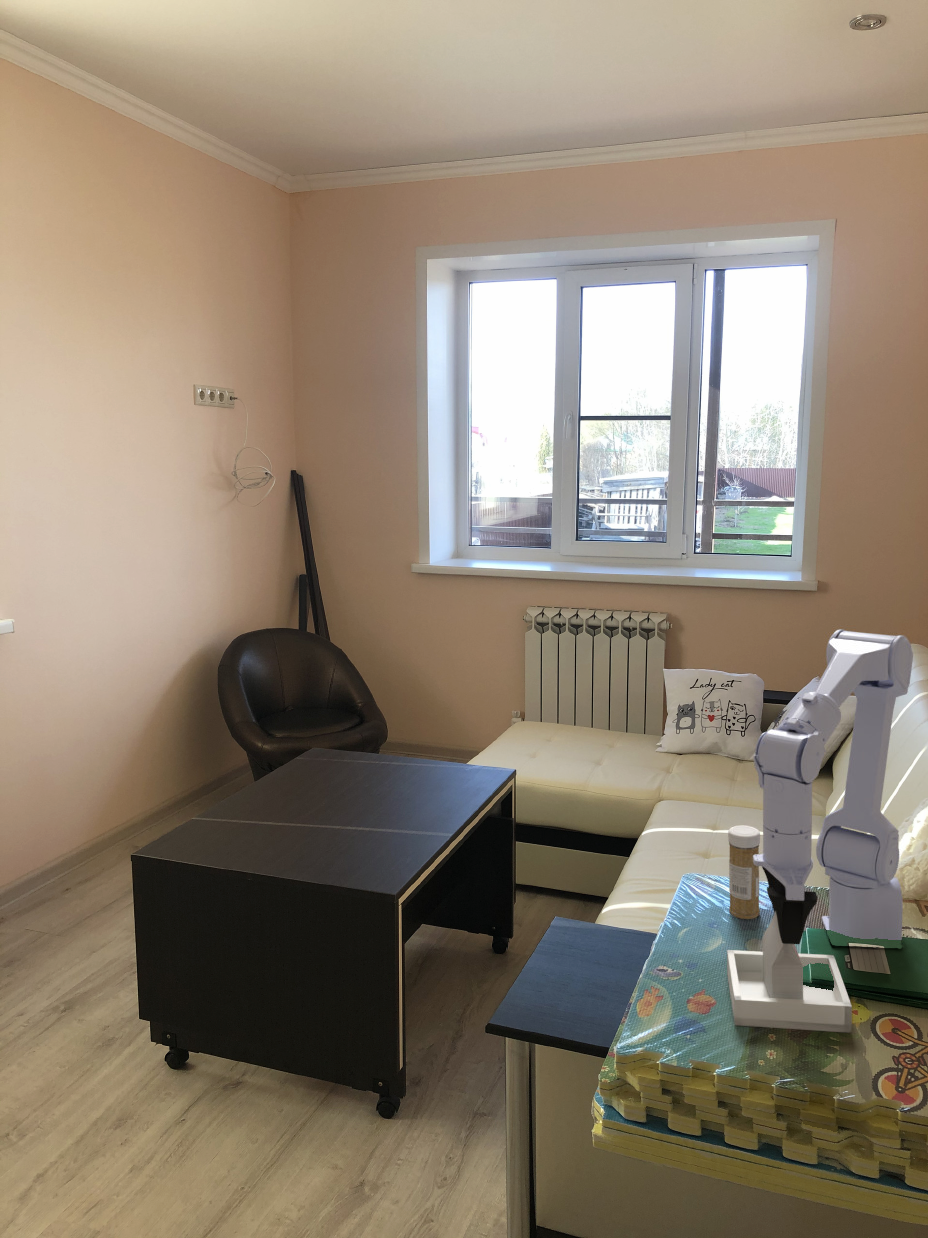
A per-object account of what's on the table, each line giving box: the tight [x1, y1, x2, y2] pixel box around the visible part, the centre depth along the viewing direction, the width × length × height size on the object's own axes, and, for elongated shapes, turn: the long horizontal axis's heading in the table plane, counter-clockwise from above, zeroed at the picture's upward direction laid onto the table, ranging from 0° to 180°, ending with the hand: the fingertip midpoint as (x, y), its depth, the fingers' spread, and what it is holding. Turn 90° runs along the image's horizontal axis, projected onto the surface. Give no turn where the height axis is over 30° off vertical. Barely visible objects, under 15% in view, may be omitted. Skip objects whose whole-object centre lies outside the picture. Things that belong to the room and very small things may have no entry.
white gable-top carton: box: [761, 911, 803, 1000], centre depth 120 cm, size 4×7×10 cm, turn 172°
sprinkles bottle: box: [727, 824, 761, 920], centre depth 143 cm, size 5×5×14 cm
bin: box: [726, 949, 853, 1034], centre depth 121 cm, size 14×12×4 cm
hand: (786, 927), depth 119 cm, fingers open, 7 cm apart
